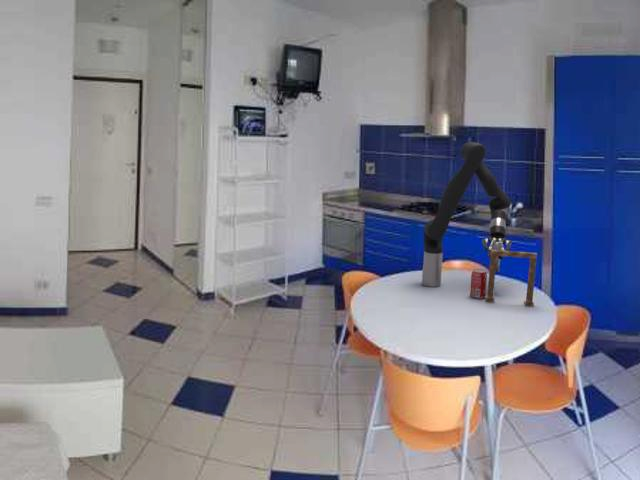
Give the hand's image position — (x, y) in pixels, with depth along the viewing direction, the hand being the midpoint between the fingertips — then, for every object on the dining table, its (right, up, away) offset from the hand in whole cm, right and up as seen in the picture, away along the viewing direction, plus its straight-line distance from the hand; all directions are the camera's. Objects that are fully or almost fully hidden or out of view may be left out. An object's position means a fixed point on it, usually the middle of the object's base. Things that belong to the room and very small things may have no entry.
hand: (495, 258), depth 251 cm
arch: (+4, -20, -8) cm, 22 cm away
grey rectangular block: (0, -6, +3) cm, 7 cm away
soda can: (-9, -19, 0) cm, 21 cm away
